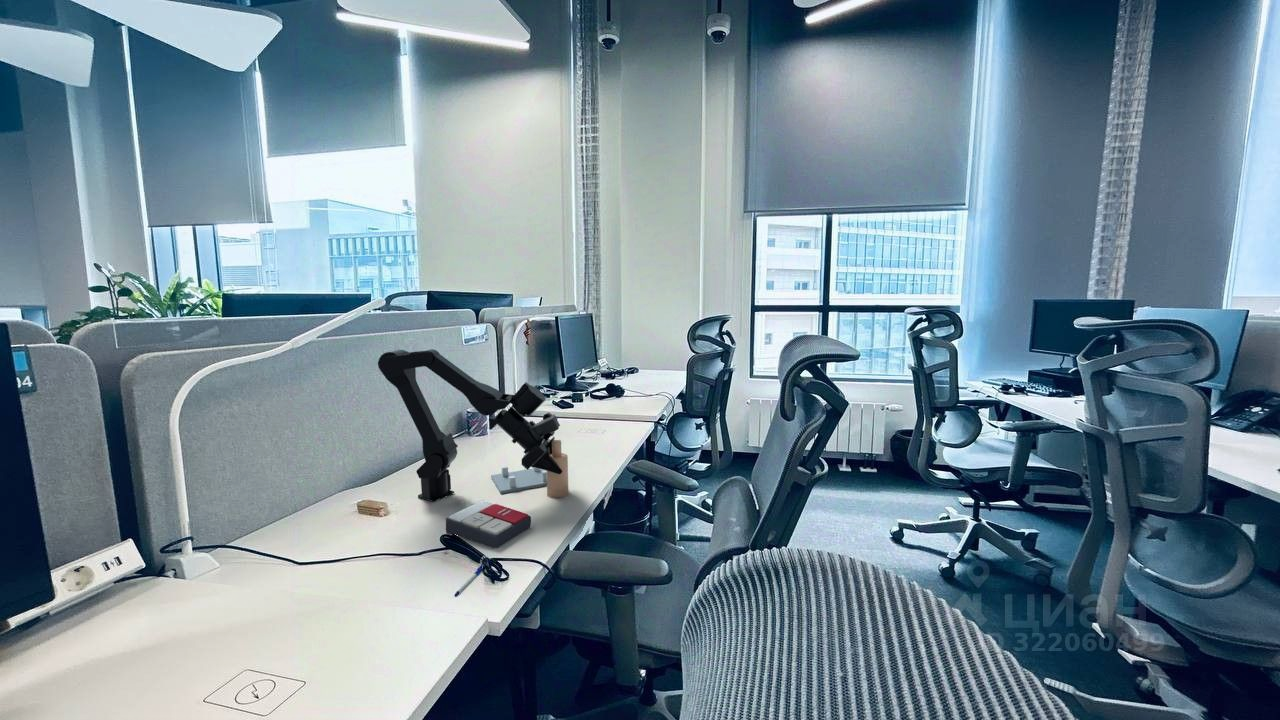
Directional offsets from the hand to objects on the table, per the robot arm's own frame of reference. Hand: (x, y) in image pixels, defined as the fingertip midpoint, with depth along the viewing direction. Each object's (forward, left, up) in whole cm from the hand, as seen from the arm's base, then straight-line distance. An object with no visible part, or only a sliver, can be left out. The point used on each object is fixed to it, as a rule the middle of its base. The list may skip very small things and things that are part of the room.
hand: (562, 468), depth 129 cm
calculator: (-24, +2, -7) cm, 25 cm away
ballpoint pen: (-40, -10, -7) cm, 42 cm away
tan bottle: (-1, +1, -7) cm, 7 cm away
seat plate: (+2, +15, -7) cm, 17 cm away
